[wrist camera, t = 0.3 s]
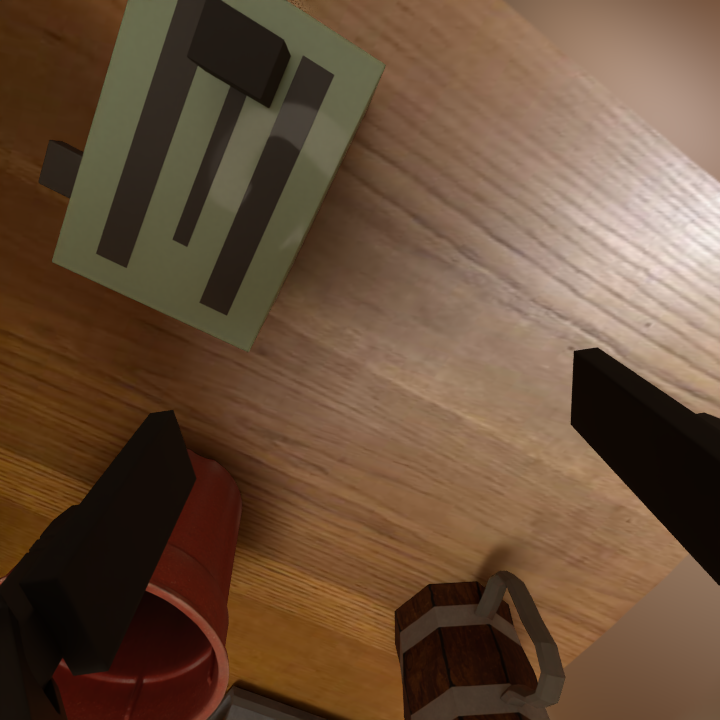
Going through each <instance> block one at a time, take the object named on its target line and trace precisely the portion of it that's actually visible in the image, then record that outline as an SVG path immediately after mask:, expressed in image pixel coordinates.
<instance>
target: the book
mask: <svg viewBox="0 0 720 720" xmlns="http://www.w3.org/2000/svg"><path fill="white" fill-rule="evenodd" d="M206 720H327V719H324V718H322V717H319V716H316V715H313V714H310V713H308V712H305V711H302V710H299V709H296V708H294V707H291V706H288V705H285V704H282V703H280V702H277V701H274V700H271V699H268V698H266V697H263V696H260V695H257V694H254V693H252V692H249V691H246V690H243V689H240V688H238V687H235V686H233V687H232V688H231V689H230V690H229V692H228V693H227V694H226V695H225V697H224V698H223V699H222V700H221V702H220V704H219V705H218V707H217V708H216V710H215V711H214V712H213V713H212V714H211V715H210V716H209V717H208V718H207V719H206Z"/></svg>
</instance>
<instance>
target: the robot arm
mask: <svg viewBox="0 0 720 720" xmlns="http://www.w3.org/2000/svg"><path fill="white" fill-rule="evenodd" d="M571 425H572V426H573V427H574V429H575V430H576V431H577V432H578V433H579V434H580V435H581V436H582V437H583V438H584V439H585V440H586V442H587V443H588V444H589V445H590V446H591V447H592V448H593V449H594V450H595V451H596V452H597V454H598V455H599V456H600V457H601V458H602V459H603V460H604V461H605V462H606V463H607V464H608V465H609V467H610V468H611V469H612V470H613V471H614V472H615V473H616V474H617V475H618V476H619V477H620V478H621V480H622V481H623V482H624V483H625V484H626V485H627V486H628V487H629V488H630V489H631V490H632V492H633V493H634V494H635V495H636V496H637V497H638V498H639V499H640V500H641V501H642V502H643V503H644V505H645V506H646V507H647V508H648V509H649V510H650V511H651V512H652V513H653V514H654V515H655V516H656V518H657V519H658V520H659V521H660V522H661V523H662V524H663V525H664V526H665V527H666V528H667V530H668V531H669V532H670V533H671V534H672V535H673V536H674V537H675V538H676V539H677V540H678V541H679V543H680V544H681V545H682V546H683V547H684V548H685V549H686V550H687V551H688V552H689V553H690V554H691V556H692V557H693V558H694V559H695V560H696V561H697V562H698V563H699V564H700V565H701V566H702V567H703V569H704V570H705V571H706V572H707V573H708V574H709V575H710V576H711V577H712V578H713V579H714V581H715V582H717V584H718V585H720V418H717V417H714V416H712V415H709V414H706V413H698V414H695V413H694V412H692V411H691V410H689V409H688V408H686V407H685V406H683V405H682V404H680V403H679V402H677V401H676V400H674V399H673V398H671V397H670V396H668V395H667V394H666V393H664V392H663V391H661V390H660V389H658V388H657V387H655V386H654V385H652V384H651V383H649V382H648V381H646V380H645V379H643V378H642V377H640V376H639V375H637V374H636V373H634V372H633V371H632V370H630V369H629V368H627V367H626V366H624V365H623V364H621V363H620V362H618V361H617V360H615V359H614V358H612V357H611V356H609V355H608V354H606V353H605V352H603V351H602V350H601V349H599V348H598V347H597V348H590V349H584V350H577V351H574V359H573V382H572V404H571ZM196 479H197V478H196V475H195V472H194V469H193V466H192V463H191V460H190V457H189V455H188V452H187V449H186V446H185V443H184V440H183V437H182V434H181V431H180V428H179V425H178V422H177V419H176V416H175V414H174V411H173V410H169V411H163V412H156V413H150V414H149V415H148V417H147V418H146V419H145V421H144V422H143V423H142V424H141V426H140V427H139V428H138V430H137V431H136V432H135V433H134V435H133V436H132V437H131V439H130V440H129V441H128V443H127V444H126V445H125V446H124V448H123V449H122V450H121V452H120V453H119V454H118V455H117V457H116V458H115V459H114V461H113V462H112V463H111V464H110V466H109V467H108V468H107V470H106V471H105V472H104V473H103V475H102V476H101V477H100V479H99V480H98V481H97V482H96V484H95V485H94V486H93V488H92V489H91V490H90V491H89V493H88V494H87V495H86V497H85V498H84V499H83V501H82V502H81V503H80V504H79V505H73V506H71V507H70V508H68V509H67V510H66V511H64V512H63V513H62V514H61V515H59V516H58V517H57V518H56V519H54V520H53V521H52V522H51V524H50V525H49V526H48V527H47V528H46V530H45V531H44V532H43V533H42V535H41V536H40V539H39V540H37V541H36V542H35V543H34V544H33V546H32V547H31V548H30V549H29V553H26V554H25V555H24V557H23V558H22V559H21V560H20V562H19V563H18V564H17V565H16V566H15V568H14V569H13V570H12V571H11V573H10V574H9V575H8V576H7V578H6V579H5V580H4V581H3V582H2V584H1V585H0V720H68V719H67V715H66V712H65V708H64V705H63V701H62V698H61V694H60V691H59V687H58V685H57V684H56V682H55V680H54V679H53V677H52V676H53V674H54V672H55V670H56V669H57V667H58V665H59V663H60V661H61V660H62V658H63V659H64V661H65V663H66V664H67V666H68V668H69V670H70V671H71V673H72V675H73V676H77V675H84V674H91V673H98V672H105V671H109V669H110V666H111V664H112V662H113V660H114V658H115V656H116V653H117V651H118V649H119V647H120V645H121V642H122V640H123V638H124V636H125V634H126V632H127V629H128V627H129V625H130V623H131V621H132V618H133V616H134V614H135V612H136V610H137V608H138V605H139V603H140V601H141V599H142V597H143V595H144V592H145V590H146V588H147V586H148V584H149V581H150V579H151V577H152V575H153V573H154V571H155V568H156V566H157V564H158V562H159V560H160V558H161V555H162V553H163V551H164V549H165V547H166V544H167V542H168V540H169V538H170V536H171V534H172V531H173V529H174V527H175V525H176V523H177V521H178V518H179V516H180V514H181V512H182V510H183V507H184V505H185V503H186V501H187V499H188V497H189V494H190V492H191V490H192V488H193V486H194V483H195V481H196Z"/></svg>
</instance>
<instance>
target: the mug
mask: <svg viewBox="0 0 720 720" xmlns="http://www.w3.org/2000/svg"><path fill="white" fill-rule="evenodd" d="M506 588H508V590H509V593H510V595H511V597H512V600H513V602H514V604H515V607H516V609H517V612H518V614H519V616H520V619H521V621H522V623H523V625H524V627H525V629H526V630H527V632H528V634H529V636H530V638H531V640H532V641H533V643H534V645H535V648H536V652H537V657H538V661H539V665H540V670H541V674H540V678H539V681H538V682H537V678H536V675H535V673H534V670H533V668H532V666H531V664H530V662H529V660H528V658H527V656H526V654H525V652H524V650H523V648H522V646H521V644H520V641H519V639H518V636H517V633H516V631H515V628H514V625H513V621H512V617H511V613H510V609H509V605H508V604H507V603H506V602H504V601H503V600H502V599H503V596H504V593H505V590H506ZM395 645H396V649H397V653H398V658H399V662H400V667H401V675H402V684H403V702H404V718H405V720H550V719H549V717H548V714H547V711H546V709H545V707H548V706H550V705H554V704H556V703H558V701H559V698H560V695H561V691H562V688H563V684H564V681H565V675H564V671H563V667H562V663H561V660H560V656H559V652H558V648H557V645H556V643H555V642H554V640H553V638H552V636H551V635H550V633H549V631H548V629H547V627H546V626H545V624H544V622H543V620H542V618H541V616H540V614H539V612H538V610H537V608H536V606H535V603H534V601H533V599H532V597H531V595H530V593H529V592H528V590H527V588H526V586H525V584H524V583H523V582H522V581H521V580H520V579H519V578H517V577H516V576H515V575H514V574H512V573H510V572H508V571H499V572H497V573H496V574H494V575H493V576H491V577H490V578H489V580H488V582H487V585H486V588H485V587H484V586H482V585H481V584H480V583H478V582H464V583H447V584H430V585H428V586H426V587H425V588H424V589H423V590H421V591H420V592H419V593H418V594H416V595H415V596H414V597H412V598H411V599H410V600H409V601H407V602H406V603H405V604H404V605H402V606H401V607H400V608H398V609H397V610H396V611H395Z"/></svg>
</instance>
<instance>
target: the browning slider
mask: <svg viewBox="0 0 720 720" xmlns="http://www.w3.org/2000/svg"><path fill="white" fill-rule="evenodd" d="M187 57H188V58H189V59H190V60H191V61H192V62H194V63H195V64H196V65H198V66H199V67H200V68H202V69H203V70H204V71H206V72H208V73H209V74H211V75H213V76H214V77H216V78H218V79H219V80H221V81H223V82H225V83H226V84H228V85H230V86H231V87H233V88H235V89H236V90H238V91H240V92H242V93H243V94H245V95H247V96H248V97H250V98H252V99H253V100H255V101H257V102H259V103H260V104H262V105H264V106H265V107H267V108H270V106H271V104H272V101H273V99H274V96H275V94H276V91H277V89H278V87H279V84H280V82H281V79H282V77H283V74H284V72H285V70H286V67H287V65H288V62H289V60H290V57H291V55H290V52H289V50H288V48H287V45H286V43H285V40H284V39H282V38H281V37H279V36H278V35H276V34H274V33H273V32H271V31H270V30H268V29H266V28H265V27H263V26H262V25H260V24H258V23H257V22H255V21H254V20H252V19H250V18H249V17H247V16H246V15H244V14H243V13H241V12H239V11H238V10H236V9H235V8H233V7H231V6H230V5H228V4H227V3H225V2H223V1H222V0H206V1H205V4H204V7H203V10H202V13H201V16H200V18H199V21H198V24H197V27H196V30H195V33H194V36H193V39H192V42H191V45H190V48H189V51H188V54H187Z"/></svg>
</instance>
